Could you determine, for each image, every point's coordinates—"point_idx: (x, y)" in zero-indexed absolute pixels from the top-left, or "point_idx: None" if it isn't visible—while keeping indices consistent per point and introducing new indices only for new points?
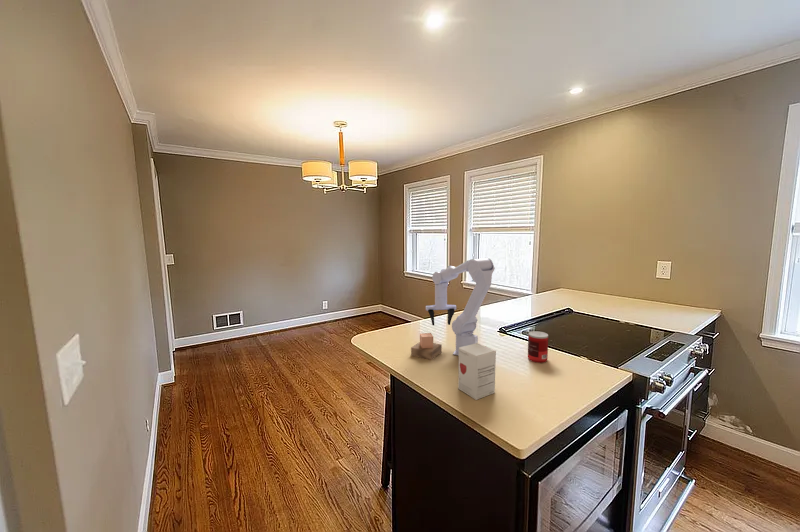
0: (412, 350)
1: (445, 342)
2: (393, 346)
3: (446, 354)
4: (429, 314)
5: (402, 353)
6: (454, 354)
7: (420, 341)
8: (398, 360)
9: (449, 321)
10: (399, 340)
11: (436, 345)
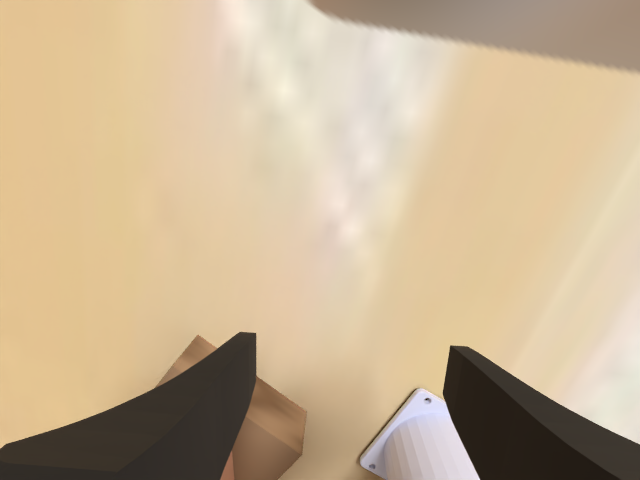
0: None
1: (381, 259)
2: (15, 272)
3: (325, 444)
4: (117, 409)
5: (79, 389)
6: (366, 467)
7: None
8: None
9: (470, 443)
10: (45, 156)
11: (263, 463)
